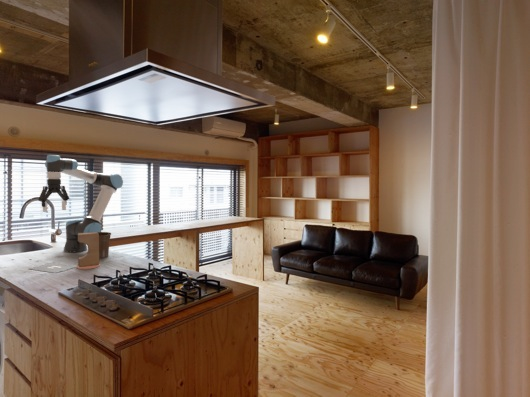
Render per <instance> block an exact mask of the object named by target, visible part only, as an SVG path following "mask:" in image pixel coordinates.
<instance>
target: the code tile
mask: <svg viewBox="0 0 530 397" xmlns="http://www.w3.org/2000/svg"><path fill="white" fill-rule="evenodd" d="M77 265H78V264H77ZM77 265H76V264H75V265H74V264H69V263H68V264H67V263H60V262H49V263H46V264H45V263H44V264H41V265H38V266H35V267H30V268H29V270H31V271H32V270H33V271H39V272H45V273H46V272H47V273H53V274H58V273H61V272H65V271H68V270H72V269H76V268H77V267H76V266H77Z"/></svg>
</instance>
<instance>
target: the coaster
mask: <svg viewBox="0 0 530 397" xmlns="http://www.w3.org/2000/svg"><path fill="white" fill-rule="evenodd" d="M98 266H99V267H100V266H101V263H100V262H99V265H92V266H84V267H79V265H78V264H77V266H76V267H75V268H76V269H78V270H91V269H95V268H98Z"/></svg>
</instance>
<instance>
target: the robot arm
mask: <svg viewBox="0 0 530 397" xmlns="http://www.w3.org/2000/svg"><path fill="white" fill-rule="evenodd" d="M44 166H45V168H46V174H47V175H46V178H47V179H46V180H47V181H46V184H47V185H44V186H42V190H41V193H40V194H39V197H38V201H39V202H41V207H42V213H48V202H47V200H48V198H50V196H51V195H52V194H56V193H57V194H58V196H59V197H60V198H61V211H66V210H67V201H68V200H70V196H69V194H68V193H67V190H66V186H65V185H61V184H62V179H61V177H62V174H65V175H68V176H71V177H74V178H77V179H80V180H82V181H86V182H87V183H88V184H91V185H94V186H96V187H99V188H101V190H100V191H99V193H98V195H97V198H96V199H95V202H94V203H93V206H92V208H91V210H90V212H89V214H88V216H85V218H84V219H83V218H81V219H71V220H67V221H66V222H65V237H66V238H65V239H66V240H65V244H64V247H63V252H65V253H79V252H84V251H86V250H87V251H88V246H87V245H86V244H84V243H79V241H78V233H92V232H102V231H103V230H102V225H101V224H102V222H101V220H102V217H103V216H104V213H105V212H106V209H107V207H108V205H109V203H110V200H111V199H112V195H113V194H116V192H117V190H118V189H120V188H122V187H123V186H124V185H123V184H124V180H123V178H122V175H121V174H119V173H115V172H113V173H110V172H107V173H105V172H103V173H102V172H95V171H89V170H86V169H83V168H81V167H79V163H78V161H77V160H76V159H72V158H61V155H57V154H47V156H46V161H45V162H44Z"/></svg>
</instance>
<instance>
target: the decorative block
mask: <svg viewBox="0 0 530 397" xmlns="http://www.w3.org/2000/svg"><path fill="white" fill-rule="evenodd" d="M78 241H79V243H84V244H86V246H87V251H86V253H85V254H84V255H82V256H80V257H78V258H77V263H78V264H77V265H79V267H84V266H92V265H99V263H100V258H99V234H98V233H97V232H92V233H78Z"/></svg>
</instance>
